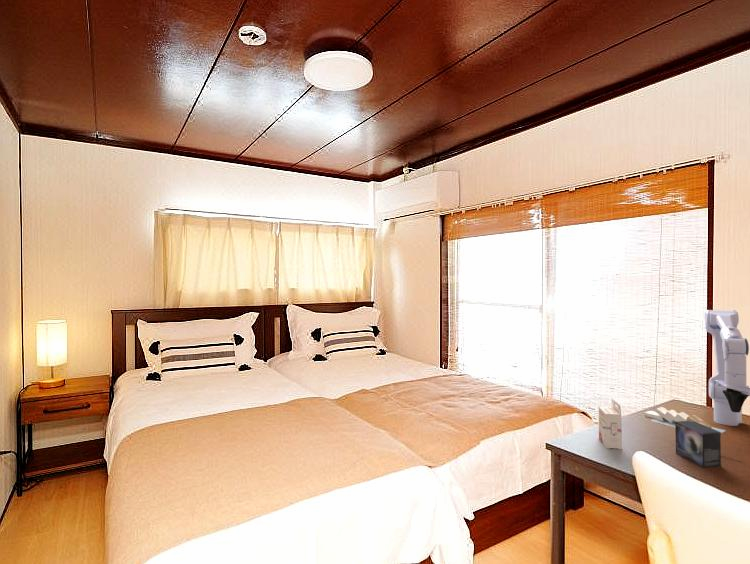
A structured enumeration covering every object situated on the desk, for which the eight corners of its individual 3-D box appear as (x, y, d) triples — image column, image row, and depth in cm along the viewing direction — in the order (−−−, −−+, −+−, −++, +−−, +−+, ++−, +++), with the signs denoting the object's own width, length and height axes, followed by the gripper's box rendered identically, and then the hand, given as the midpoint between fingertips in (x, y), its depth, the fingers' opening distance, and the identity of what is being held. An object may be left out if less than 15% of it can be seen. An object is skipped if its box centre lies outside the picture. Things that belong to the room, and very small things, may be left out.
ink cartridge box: (597, 438, 148) (597, 397, 147) (613, 439, 147) (612, 397, 146) (606, 448, 139) (605, 404, 139) (622, 449, 138) (622, 405, 138)
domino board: (666, 417, 169) (666, 415, 169) (726, 432, 151) (726, 430, 151) (649, 422, 163) (649, 420, 163) (711, 439, 145) (711, 437, 145)
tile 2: (698, 426, 155) (681, 414, 160) (700, 423, 155) (682, 411, 160) (693, 429, 153) (675, 416, 158) (695, 425, 153) (676, 413, 158)
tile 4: (677, 421, 162) (660, 409, 167) (679, 418, 161) (662, 406, 166) (671, 423, 160) (654, 411, 165) (673, 420, 159) (656, 408, 164)
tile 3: (688, 423, 158) (670, 412, 164) (690, 420, 158) (672, 409, 163) (682, 426, 156) (664, 414, 161) (684, 423, 156) (666, 411, 161)
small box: (673, 453, 135) (673, 420, 135) (692, 452, 136) (692, 419, 135) (702, 468, 124) (701, 432, 124) (722, 466, 125) (722, 431, 125)
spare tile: (710, 429, 152) (691, 417, 157) (712, 426, 152) (693, 414, 157) (704, 432, 150) (685, 419, 155) (706, 428, 150) (687, 416, 155)
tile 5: (668, 418, 164) (650, 414, 170) (668, 415, 164) (650, 410, 170) (662, 420, 162) (644, 416, 168) (662, 416, 162) (644, 412, 168)
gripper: (766, 377, 138) (766, 418, 138) (729, 368, 153) (729, 405, 153) (744, 378, 138) (745, 418, 138) (710, 368, 153) (710, 405, 153)
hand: (735, 411), depth 146 cm, fingers closed
